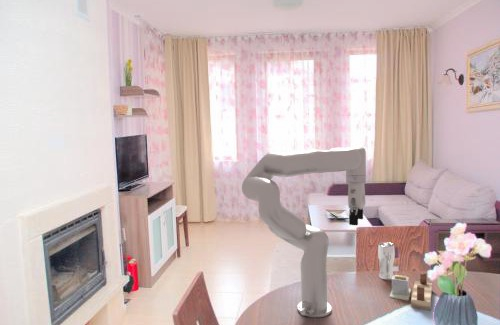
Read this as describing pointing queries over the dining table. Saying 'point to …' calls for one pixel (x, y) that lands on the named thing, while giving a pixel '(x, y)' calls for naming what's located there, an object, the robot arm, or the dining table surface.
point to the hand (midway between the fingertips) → (356, 221)
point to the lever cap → (400, 285)
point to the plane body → (422, 293)
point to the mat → (400, 296)
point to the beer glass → (386, 260)
